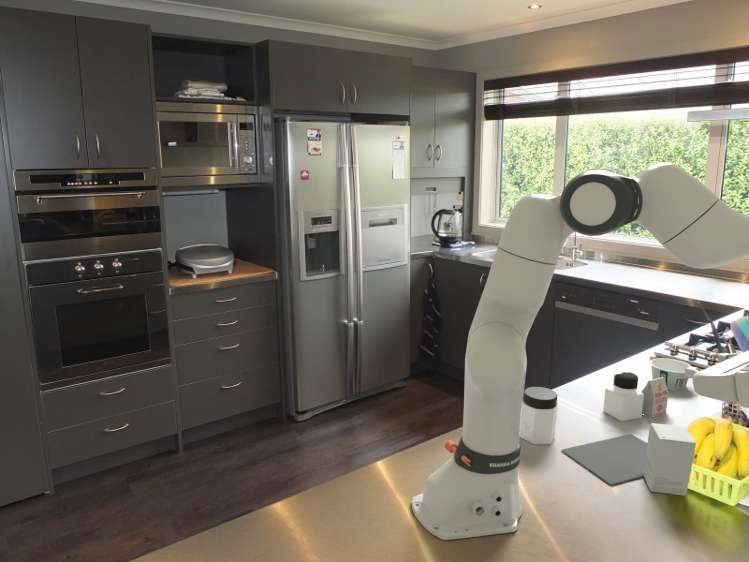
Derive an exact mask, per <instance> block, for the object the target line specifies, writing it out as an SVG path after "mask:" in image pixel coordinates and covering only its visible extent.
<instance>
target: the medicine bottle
mask: <svg viewBox="0 0 749 562" xmlns="http://www.w3.org/2000/svg"><path fill="white" fill-rule="evenodd" d="M638 385H639V377H638V375H637V374H635V373H633V372H631V371H624V370H623V371H617V372H615V373H614V374H613V384H612V386H608V387H605V389H604V398H603V409H602V412H604V413H605V412H606V413H605V414H607V413H608V414H607V415H609V414H610V415H609V416H611V417H612V416H613V417H612V418H614V419H616V420H617V421H619V420H620V422H621V421H622V422H628V421H633V420H638V419H641V418H642V415H643V414H642V408H643V400H644V394H643V393H641V392H642V391H639V390H638ZM637 418H638V419H637ZM632 419H633V420H632ZM627 420H628V421H627ZM622 422H621V423H622Z"/></svg>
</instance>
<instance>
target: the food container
mask: <svg viewBox="0 0 749 562" xmlns="http://www.w3.org/2000/svg"><path fill="white" fill-rule="evenodd" d="M649 364H650V365H651V376H652V377H651V378H652V379H651V380H654V379H657V378H661V377H665V381H666V385H667V389H670V390H669V391H675V390H678V391H683V390H685V389H686V387H687V384H688V381H689V379H690V378H687V377H686V376H685V369H686V368H689V367H693V366H692V365H691V364H689V363H687V362H684V361H682V360H679V359H673V358H663V357H662V358H660V357H659V358H653V359H651V360H650V361H649Z"/></svg>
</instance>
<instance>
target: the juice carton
mask: <svg viewBox="0 0 749 562" xmlns="http://www.w3.org/2000/svg"><path fill="white" fill-rule="evenodd" d="M640 392H641V393H643V394H644V400H643V408H642V415H643V414H644V415H643V416H645V415H646V417H647V416H648V418H650V417H651V418H653V416H654V417H656V416H660V415H663V414H666V413H667V406H668V401H669V400H668V399H669V390H668V389H667V385H666V381H665V377H661V378H657V379H654V380H652V379H651V380H648V381H647V383H646V385H645V387H644V388H643V389H642V391H640Z"/></svg>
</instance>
